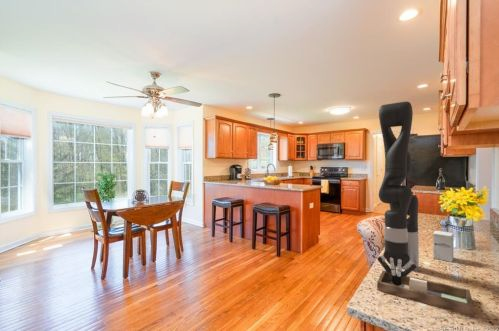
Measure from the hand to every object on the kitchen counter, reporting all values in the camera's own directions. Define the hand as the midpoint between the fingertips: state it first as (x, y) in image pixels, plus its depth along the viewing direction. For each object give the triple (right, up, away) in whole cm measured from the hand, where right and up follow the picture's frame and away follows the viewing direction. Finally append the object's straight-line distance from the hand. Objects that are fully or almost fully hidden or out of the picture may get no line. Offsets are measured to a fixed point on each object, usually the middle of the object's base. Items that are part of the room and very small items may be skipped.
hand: (396, 285), depth 89 cm
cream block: (+5, -1, -4) cm, 7 cm away
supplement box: (+41, -2, +29) cm, 50 cm away
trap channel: (+6, -2, -5) cm, 8 cm away
